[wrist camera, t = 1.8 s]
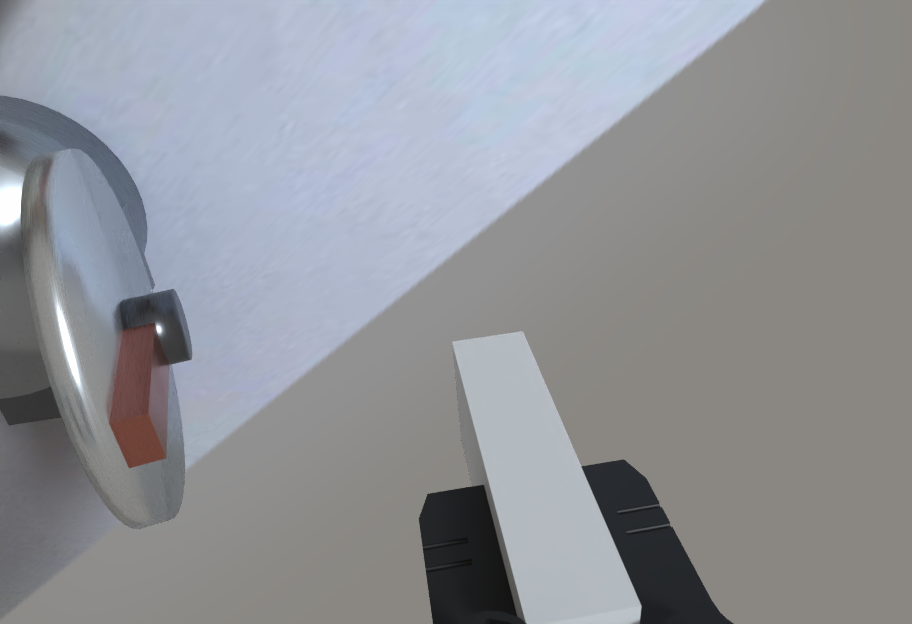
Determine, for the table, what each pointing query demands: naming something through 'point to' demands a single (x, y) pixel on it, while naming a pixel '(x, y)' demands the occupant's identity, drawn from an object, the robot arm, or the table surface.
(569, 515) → the robot arm
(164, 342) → the lid
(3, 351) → the pot
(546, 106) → the table surface
